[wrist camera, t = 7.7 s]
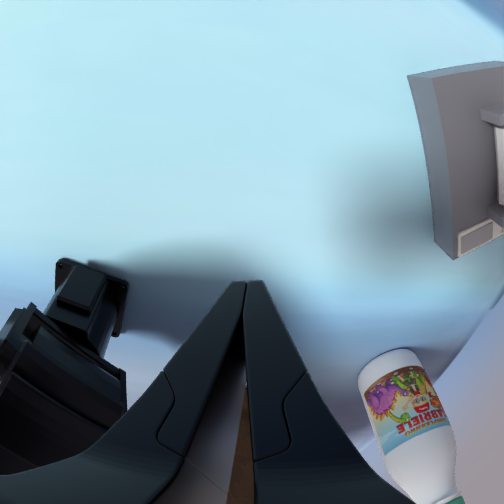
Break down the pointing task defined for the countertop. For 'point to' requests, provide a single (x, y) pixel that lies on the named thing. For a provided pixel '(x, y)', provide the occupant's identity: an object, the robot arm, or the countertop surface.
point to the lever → (499, 161)
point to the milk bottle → (410, 427)
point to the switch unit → (462, 151)
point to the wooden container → (242, 463)
